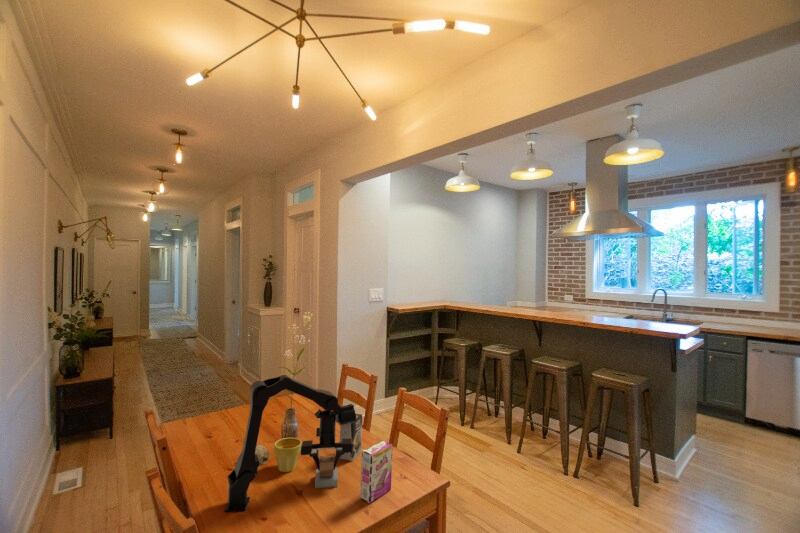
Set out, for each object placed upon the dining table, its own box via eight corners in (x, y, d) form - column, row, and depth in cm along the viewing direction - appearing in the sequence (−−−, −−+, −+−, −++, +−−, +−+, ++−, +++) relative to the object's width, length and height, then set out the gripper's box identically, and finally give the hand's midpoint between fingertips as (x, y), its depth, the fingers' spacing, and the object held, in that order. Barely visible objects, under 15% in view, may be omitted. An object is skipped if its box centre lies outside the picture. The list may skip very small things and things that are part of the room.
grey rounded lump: (254, 477, 145) (263, 460, 144) (234, 463, 147) (242, 446, 146) (268, 464, 155) (276, 448, 154) (249, 451, 157) (256, 435, 156)
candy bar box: (370, 504, 124) (371, 455, 124) (359, 498, 127) (360, 450, 127) (392, 490, 132) (393, 443, 133) (381, 484, 135) (382, 439, 136)
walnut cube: (333, 476, 135) (333, 462, 135) (319, 476, 134) (319, 463, 134) (333, 468, 140) (333, 455, 140) (320, 469, 139) (320, 456, 139)
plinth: (337, 486, 134) (337, 479, 134) (314, 488, 132) (314, 481, 132) (337, 474, 142) (337, 467, 142) (316, 476, 140) (316, 469, 140)
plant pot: (299, 459, 153) (300, 435, 153) (302, 472, 143) (303, 446, 143) (273, 463, 149) (273, 439, 149) (274, 477, 139) (274, 450, 139)
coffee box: (352, 461, 152) (353, 422, 152) (338, 458, 154) (339, 419, 154) (362, 451, 160) (362, 414, 160) (348, 449, 162) (349, 412, 162)
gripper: (352, 417, 147) (351, 457, 147) (303, 419, 144) (302, 460, 144) (353, 429, 136) (352, 472, 136) (300, 432, 133) (299, 475, 133)
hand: (326, 469), depth 137 cm, fingers open, 5 cm apart
